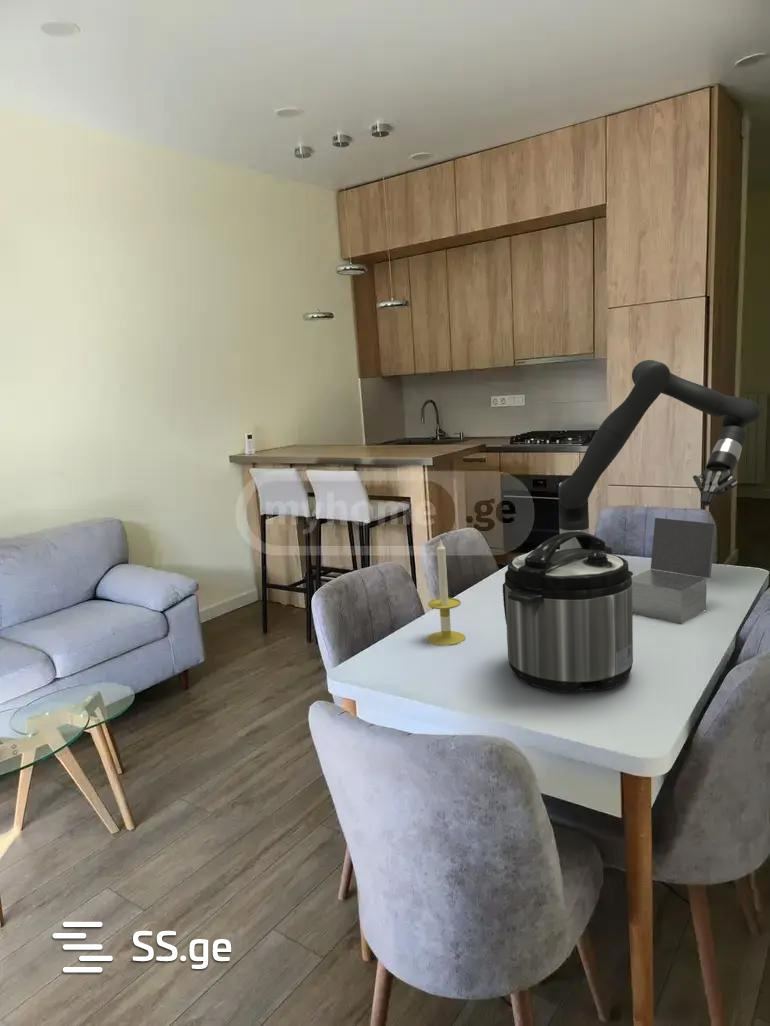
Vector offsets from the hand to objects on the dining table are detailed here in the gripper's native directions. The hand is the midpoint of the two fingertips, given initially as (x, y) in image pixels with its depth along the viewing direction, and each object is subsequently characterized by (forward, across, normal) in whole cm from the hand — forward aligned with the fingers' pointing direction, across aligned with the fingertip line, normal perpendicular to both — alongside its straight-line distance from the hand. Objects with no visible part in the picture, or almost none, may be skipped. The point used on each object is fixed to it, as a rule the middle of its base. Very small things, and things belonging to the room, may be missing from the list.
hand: (705, 504), depth 195 cm
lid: (+17, 0, -3) cm, 18 cm away
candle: (+73, -32, -35) cm, 87 cm away
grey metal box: (+35, 0, +2) cm, 35 cm away
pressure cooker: (+71, +3, -33) cm, 78 cm away
